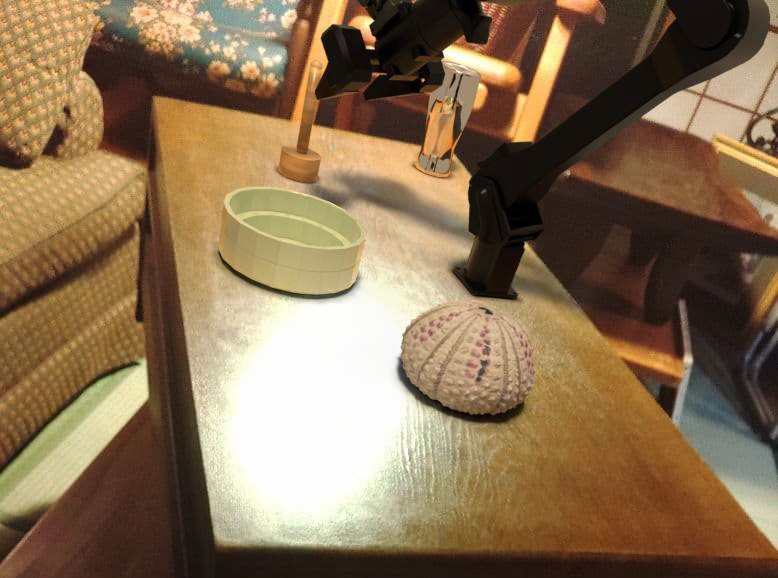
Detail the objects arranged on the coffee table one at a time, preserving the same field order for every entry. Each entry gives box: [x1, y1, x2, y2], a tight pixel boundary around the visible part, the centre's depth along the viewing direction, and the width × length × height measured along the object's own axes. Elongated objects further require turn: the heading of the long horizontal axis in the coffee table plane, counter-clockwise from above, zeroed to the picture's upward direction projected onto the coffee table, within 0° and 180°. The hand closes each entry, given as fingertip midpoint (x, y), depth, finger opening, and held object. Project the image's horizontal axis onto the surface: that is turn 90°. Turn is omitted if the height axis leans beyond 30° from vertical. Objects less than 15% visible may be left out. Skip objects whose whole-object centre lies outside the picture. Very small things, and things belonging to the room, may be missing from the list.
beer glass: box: [414, 60, 482, 178], centre depth 118 cm, size 7×7×15 cm
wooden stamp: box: [277, 59, 323, 184], centre depth 100 cm, size 6×6×14 cm
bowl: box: [217, 186, 367, 295], centre depth 80 cm, size 15×15×6 cm
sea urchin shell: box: [399, 299, 538, 416], centre depth 69 cm, size 13×14×8 cm
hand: (341, 96), depth 96 cm, fingers open, 9 cm apart
